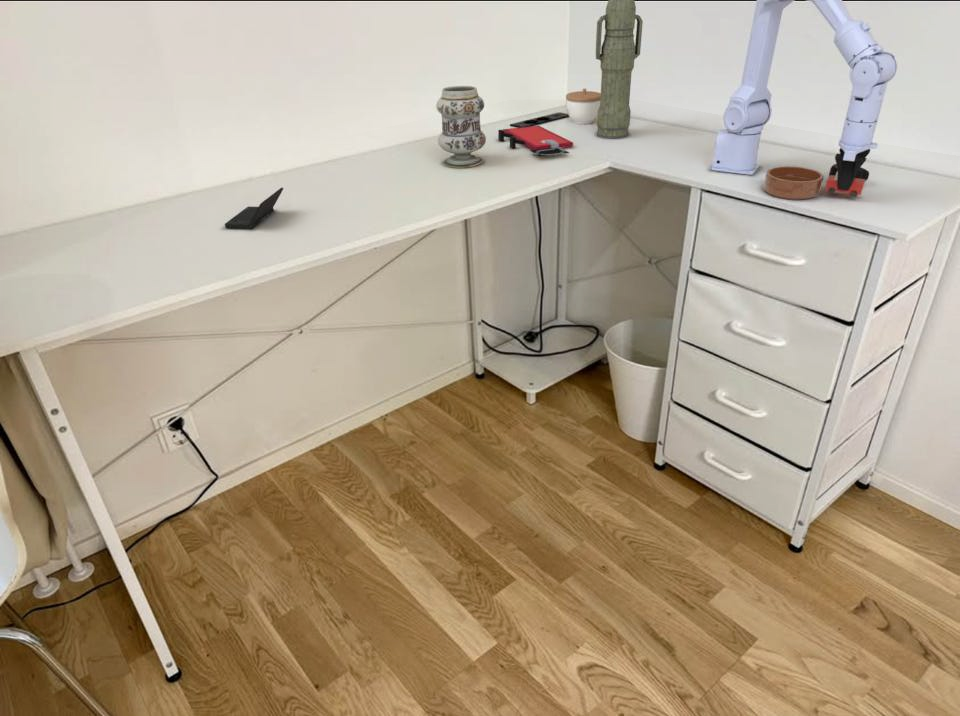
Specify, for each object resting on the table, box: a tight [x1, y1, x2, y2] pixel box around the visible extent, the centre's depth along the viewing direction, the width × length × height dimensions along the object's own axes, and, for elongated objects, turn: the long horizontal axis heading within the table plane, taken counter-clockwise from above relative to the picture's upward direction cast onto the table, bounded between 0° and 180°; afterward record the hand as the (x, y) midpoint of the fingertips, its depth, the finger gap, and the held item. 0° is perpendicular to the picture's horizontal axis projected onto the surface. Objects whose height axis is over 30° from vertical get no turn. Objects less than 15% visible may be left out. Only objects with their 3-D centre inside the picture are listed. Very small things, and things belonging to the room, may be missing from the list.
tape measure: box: [828, 163, 870, 182], centre depth 153 cm, size 7×7×4 cm
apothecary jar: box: [435, 85, 487, 169], centre depth 173 cm, size 12×12×18 cm
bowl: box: [763, 165, 824, 201], centre depth 149 cm, size 11×11×4 cm
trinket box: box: [565, 88, 601, 125], centre depth 208 cm, size 11×11×9 cm
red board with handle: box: [497, 125, 574, 157], centre depth 189 cm, size 30×3×15 cm
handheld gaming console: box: [224, 187, 284, 230], centre depth 145 cm, size 12×7×10 cm
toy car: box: [824, 171, 866, 198], centre depth 145 cm, size 7×4×4 cm, turn 59°
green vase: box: [595, 0, 644, 140], centre depth 187 cm, size 9×12×35 cm
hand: (844, 186), depth 145 cm, fingers closed on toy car, 4 cm apart
